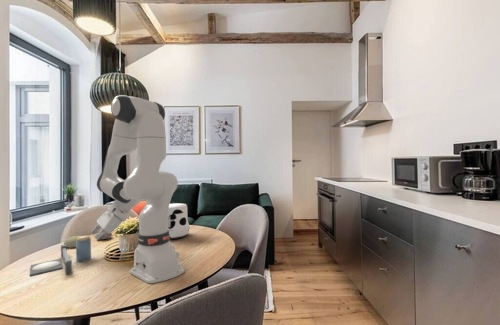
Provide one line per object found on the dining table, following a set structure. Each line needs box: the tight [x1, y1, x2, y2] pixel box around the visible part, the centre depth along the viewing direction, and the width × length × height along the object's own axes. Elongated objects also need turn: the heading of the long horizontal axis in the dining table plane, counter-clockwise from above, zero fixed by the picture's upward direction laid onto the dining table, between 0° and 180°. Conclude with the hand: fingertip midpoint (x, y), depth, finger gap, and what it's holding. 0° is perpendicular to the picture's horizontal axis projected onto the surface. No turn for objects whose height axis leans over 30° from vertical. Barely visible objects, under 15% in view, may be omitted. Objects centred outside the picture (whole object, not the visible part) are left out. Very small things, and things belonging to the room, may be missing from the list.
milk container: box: [168, 202, 190, 240], centre depth 143 cm, size 17×17×18 cm
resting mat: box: [29, 258, 63, 277], centre depth 103 cm, size 12×10×1 cm
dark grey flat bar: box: [60, 244, 73, 276], centre depth 107 cm, size 26×2×5 cm, turn 40°
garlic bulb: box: [96, 232, 113, 241], centre depth 141 cm, size 8×7×8 cm
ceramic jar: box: [75, 235, 92, 263], centre depth 112 cm, size 6×6×10 cm
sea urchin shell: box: [63, 235, 81, 249], centre depth 131 cm, size 9×8×8 cm
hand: (93, 235), depth 115 cm, fingers open, 8 cm apart
